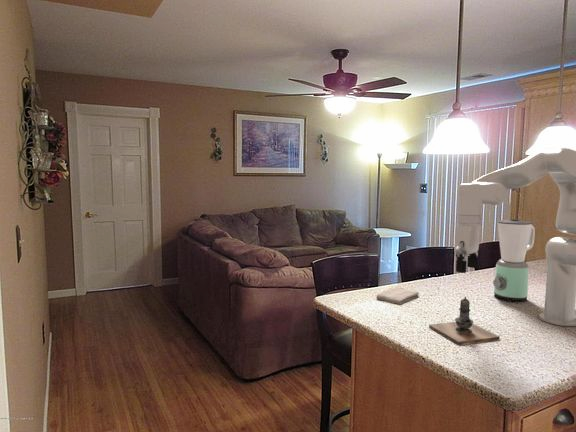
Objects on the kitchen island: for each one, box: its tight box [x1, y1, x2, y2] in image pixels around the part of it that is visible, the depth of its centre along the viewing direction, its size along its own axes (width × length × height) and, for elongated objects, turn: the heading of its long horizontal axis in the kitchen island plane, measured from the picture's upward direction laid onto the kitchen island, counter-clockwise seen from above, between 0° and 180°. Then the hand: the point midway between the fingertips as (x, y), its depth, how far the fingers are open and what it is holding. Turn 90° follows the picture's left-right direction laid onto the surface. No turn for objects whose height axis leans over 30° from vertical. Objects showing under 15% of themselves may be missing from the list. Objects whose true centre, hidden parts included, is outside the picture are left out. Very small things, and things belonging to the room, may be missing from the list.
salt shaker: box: [454, 296, 474, 333], centre depth 147 cm, size 6×6×12 cm
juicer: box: [492, 218, 536, 303], centre depth 187 cm, size 19×13×35 cm
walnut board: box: [428, 321, 500, 346], centre depth 148 cm, size 16×16×1 cm
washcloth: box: [376, 286, 420, 305], centre depth 189 cm, size 12×18×3 cm, turn 138°
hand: (466, 269), depth 146 cm, fingers open, 9 cm apart
